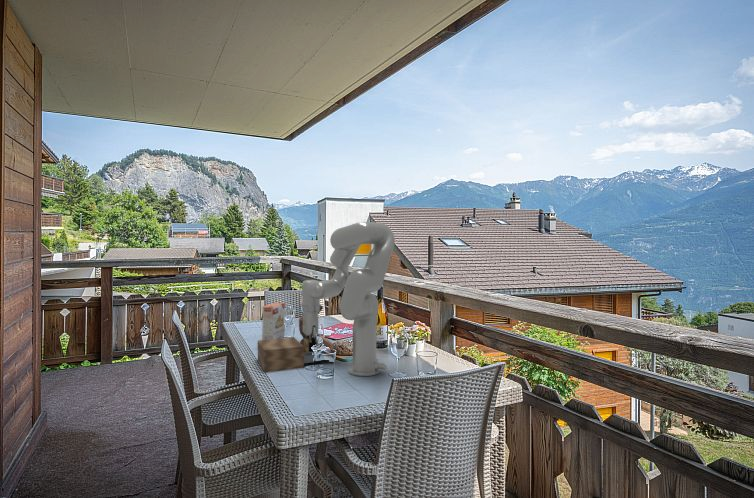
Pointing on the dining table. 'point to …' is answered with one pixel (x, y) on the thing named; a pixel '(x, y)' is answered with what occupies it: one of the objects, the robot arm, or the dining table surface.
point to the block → (307, 344)
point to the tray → (309, 357)
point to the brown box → (280, 354)
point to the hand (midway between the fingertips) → (311, 349)
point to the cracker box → (273, 321)
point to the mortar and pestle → (302, 327)
